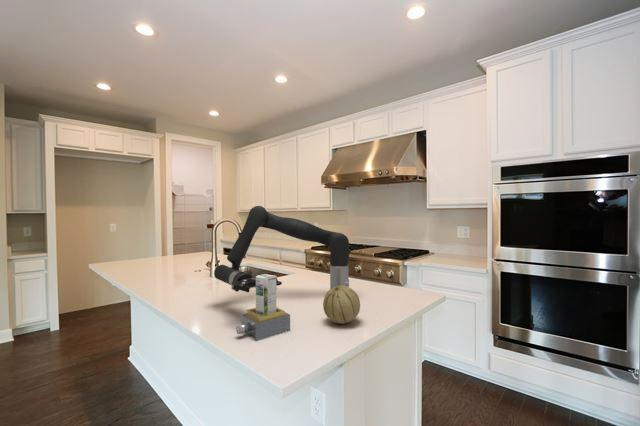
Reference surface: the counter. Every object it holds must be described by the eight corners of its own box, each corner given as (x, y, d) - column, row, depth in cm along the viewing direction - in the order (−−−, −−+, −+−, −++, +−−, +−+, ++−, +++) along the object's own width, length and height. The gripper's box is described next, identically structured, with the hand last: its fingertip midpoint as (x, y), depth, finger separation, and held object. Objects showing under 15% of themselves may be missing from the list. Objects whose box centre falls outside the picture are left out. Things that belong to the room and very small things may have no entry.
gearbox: (273, 321, 123) (273, 303, 123) (290, 330, 114) (290, 310, 114) (231, 333, 112) (230, 312, 112) (245, 344, 103) (245, 322, 103)
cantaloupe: (364, 319, 125) (364, 282, 125) (353, 332, 112) (353, 291, 112) (331, 314, 131) (331, 279, 131) (317, 326, 118) (316, 287, 118)
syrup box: (255, 314, 114) (254, 276, 114) (266, 310, 119) (266, 273, 119) (265, 317, 111) (265, 278, 110) (277, 313, 115) (276, 275, 115)
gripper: (224, 273, 126) (241, 280, 113) (255, 269, 135) (274, 275, 122) (224, 292, 126) (241, 300, 114) (255, 286, 135) (274, 294, 123)
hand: (258, 287), depth 118 cm, fingers open, 8 cm apart
